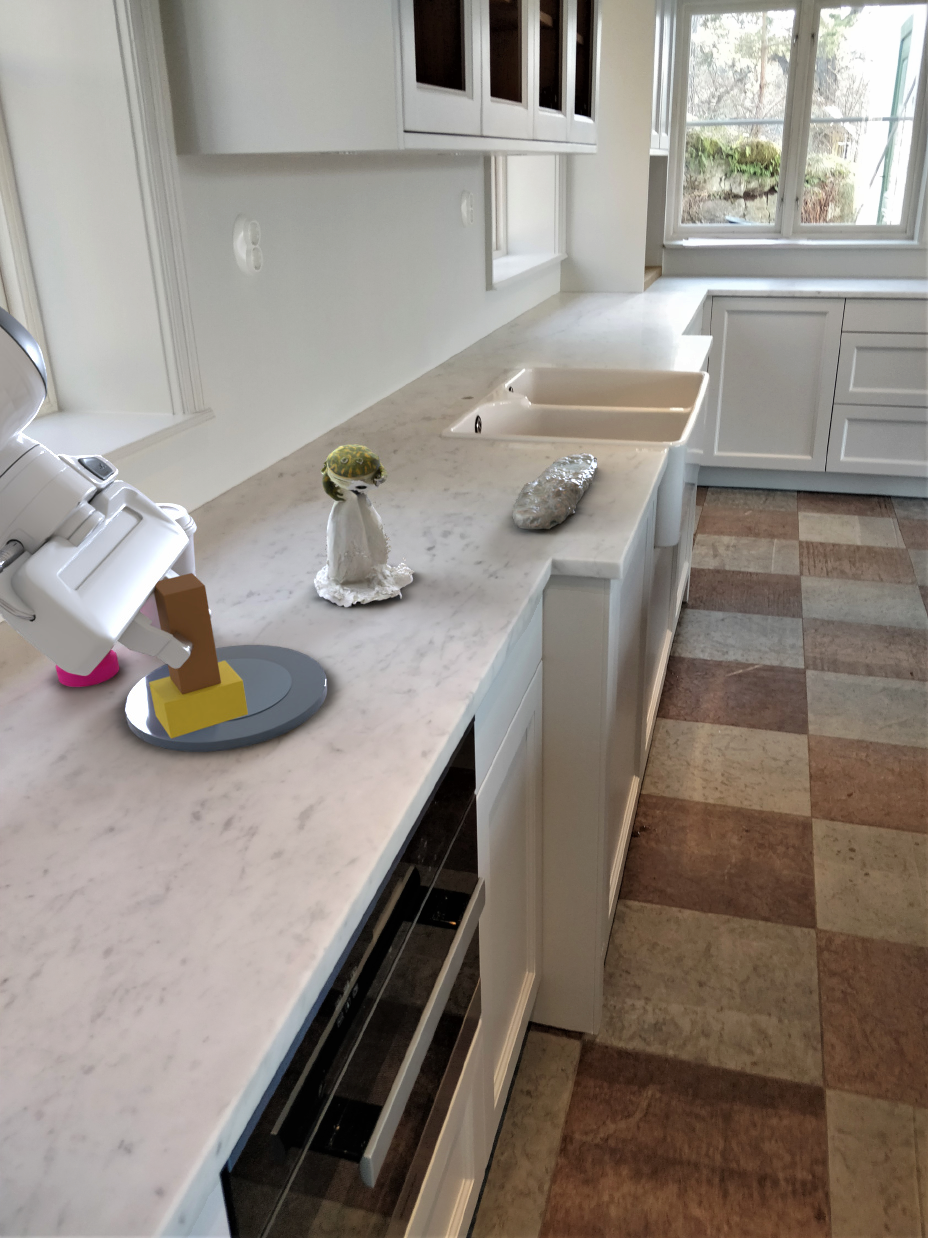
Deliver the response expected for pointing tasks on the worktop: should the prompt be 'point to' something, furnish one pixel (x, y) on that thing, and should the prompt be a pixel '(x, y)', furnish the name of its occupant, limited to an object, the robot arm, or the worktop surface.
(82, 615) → the robot arm
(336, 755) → the worktop surface
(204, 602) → the sponge brush
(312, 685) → the plate
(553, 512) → the elongated rock
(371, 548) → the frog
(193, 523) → the coffee cup
